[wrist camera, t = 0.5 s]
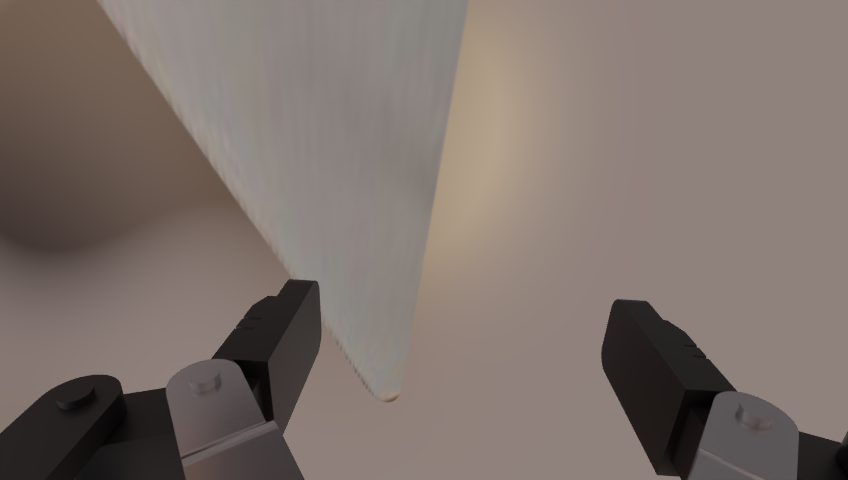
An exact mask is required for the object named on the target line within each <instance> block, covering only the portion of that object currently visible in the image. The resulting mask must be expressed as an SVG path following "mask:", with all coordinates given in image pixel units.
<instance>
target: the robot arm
mask: <svg viewBox="0 0 848 480" xmlns="http://www.w3.org/2000/svg"><path fill="white" fill-rule="evenodd" d="M320 341H321V312H320V293H319V284H318V282H317V281H310V280H293V279H289V280H288V281H287V283H286V284H285V285H284V287H283V288H282V290H281V291H280V293H279V294H278V295H277V296H267V297H265V298H264V299H262V300H261V301H259V302H257V303H256V304H254V305H253V306H252V307H251V308H250V309H249V311H248V312H247V313H246V315H245V316H244V319H242V320H241V321H240V322H239V324H238V325H237V326H236V329H234V330H233V331H232V333H231V334H230V335H229V337H228V338H227V339H226V340H225V342H224V343H223V344H222V346H221V347H220V348H219V349H218V351H217V352H216V353H215V354H214V356H213V357H212V359H210V360H205V361H200V362H197V363H194V364H192V365H189V366H187V367H185V368H183V369H182V370H180V371H179V372H177V373H176V374H175V375H174V376H173V377H172V378H171V379H170V380H169V382H168V384H167V386H166V388H161V389H155V390H149V391H142V392H136V393H130V394H123V391H122V387H121V383H120V382H119V380H117V379H116V378H114V377H112V376H108V375H90V376H85V377H80V378H76V379H73V380H70V381H68V382H65V383H63V384H61V385H58V386H57V387H55V388H53V389H51V390H50V391H48V392H47V393H45V394H44V395H43V396H41V397H40V398H39V399H38V400H37V401H36V402H34V403H33V404H32V405H31V406H30V407H29V408H28V409H27V410H26V411H25V412H24V413H22V414H21V415H20V416H19V417H18V418H17V419H16V420H15V421H14V422H12V424H10V425H9V426H8V427H7V428H6V429H5V430H4V431H3V432H1V433H0V480H304V478H303V475H302V473H301V471H300V470H299V467H298V465H297V464H296V461H295V459H294V457H293V455H292V453H291V451H290V449H289V447H288V445H287V443H286V442H285V439H284V437H283V433H284V431H285V429H286V426H287V424H288V422H289V419H290V417H291V415H292V412H293V410H294V408H295V405H296V403H297V400H298V398H299V396H300V394H301V391H302V389H303V387H304V384H305V382H306V380H307V377H308V375H309V373H310V370H311V368H312V366H313V363H314V361H315V358H316V356H317V354H318V351H319V347H320ZM601 355H602V356H601V358H602V366H603V369H604V372H605V374H606V376H607V378H608V380H609V382H610V384H611V386H612V388H613V390H614V392H615V393H616V396H617V397H618V399H619V401H620V403H621V405H622V407H623V409H624V411H625V413H626V415H627V417H628V419H629V421H630V423H631V424H632V427H633V429H634V431H635V432H636V435H637V437H638V439H639V440H640V442H641V444H642V446H643V448H644V450H645V452H646V454H647V456H648V458H649V460H650V462H651V464H652V466H653V468H654V470H655V472H656V474H657V475H665V476H680V478H681V480H848V432H847V434H846V436H845V437H844V439H843V441H842V443H840V442H836V441H832V440H829V439H825V438H821V437H818V436H814V435H810V434H807V433H803V432H799V431H798V428H797V426H796V424H795V423H794V421H793V420H792V419H791V418H790V417H789V416H788V415H787V414H786V413H784V412H783V411H782V410H780V409H779V408H778V407H776V406H774V405H772V404H771V403H769V402H767V401H765V400H763V399H761V398H758V397H755V396H753V395H750V394H746V393H742V392H737V391H736V389H735V388H734V387H733V386H732V385H731V384H730V383H729V382H728V380H727V379H726V378H725V377H724V376H723V375H722V374H721V372H720V371H719V370H718V369H717V368H716V367H715V366H714V365H713V363H712V362H711V361H710V360H709V359H706V356H705V354H704V353H703V352H702V351H701V350H700V349H699V348H697V346H696V344H695V343H694V342H693V341H692V340H691V338H690V337H689V336H688V335H687V334H686V333H685V332H684V331H683V330H681V329H679V328H678V327H676V326H675V325H673V324H671V323H670V322H669V321H667V320H666V321H665V320H663V319H662V318H661V317H660V316H659V314H658V313H657V312H656V311H655V310H654V309H653V307H652V306H651V305H650V304H649V303H648V302H647V301H639V300H638V301H637V300H621V299H617V300H615V301H614V303H613V305H612V308H611V312H610V316H609V320H608V324H607V329H606V333H605V337H604V341H603V346H602V353H601Z"/></svg>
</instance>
